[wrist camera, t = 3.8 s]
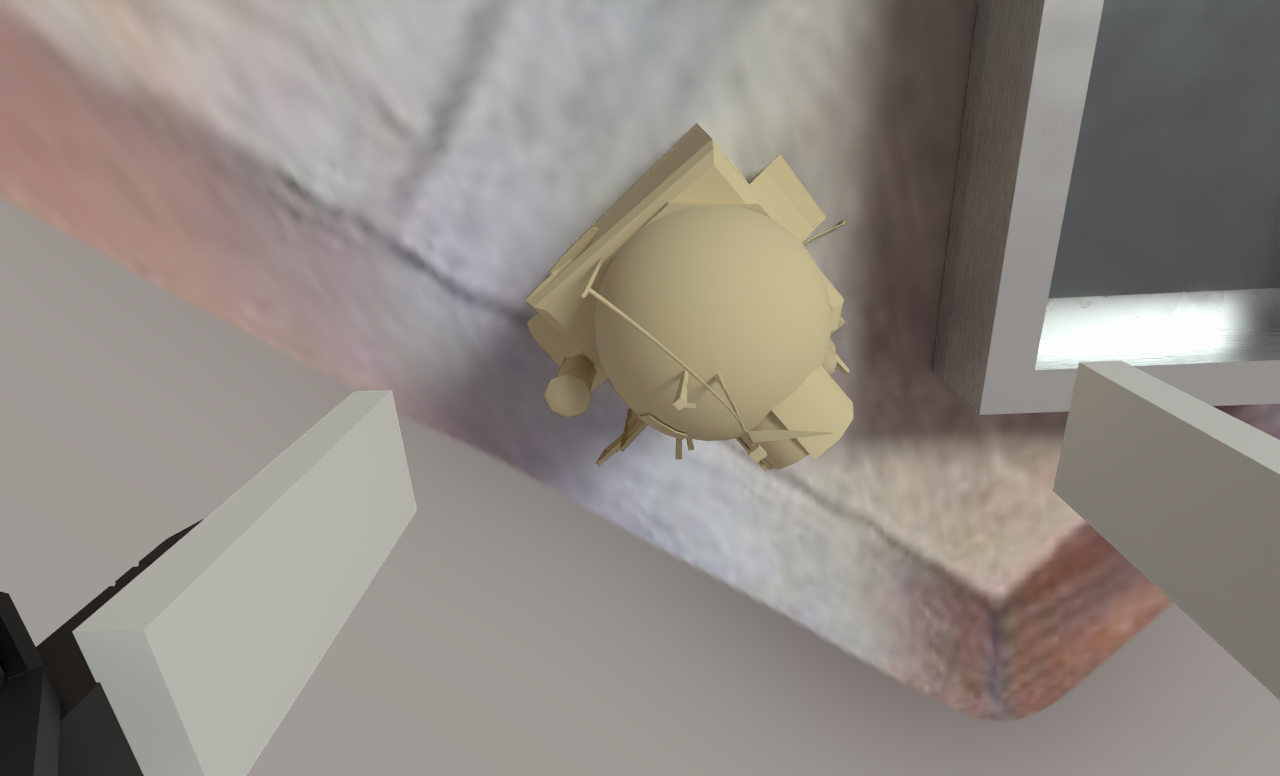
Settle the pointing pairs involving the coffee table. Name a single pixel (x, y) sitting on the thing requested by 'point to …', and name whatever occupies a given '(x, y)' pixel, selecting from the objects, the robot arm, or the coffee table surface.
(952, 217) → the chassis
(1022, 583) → the coffee table surface
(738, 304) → the robot
